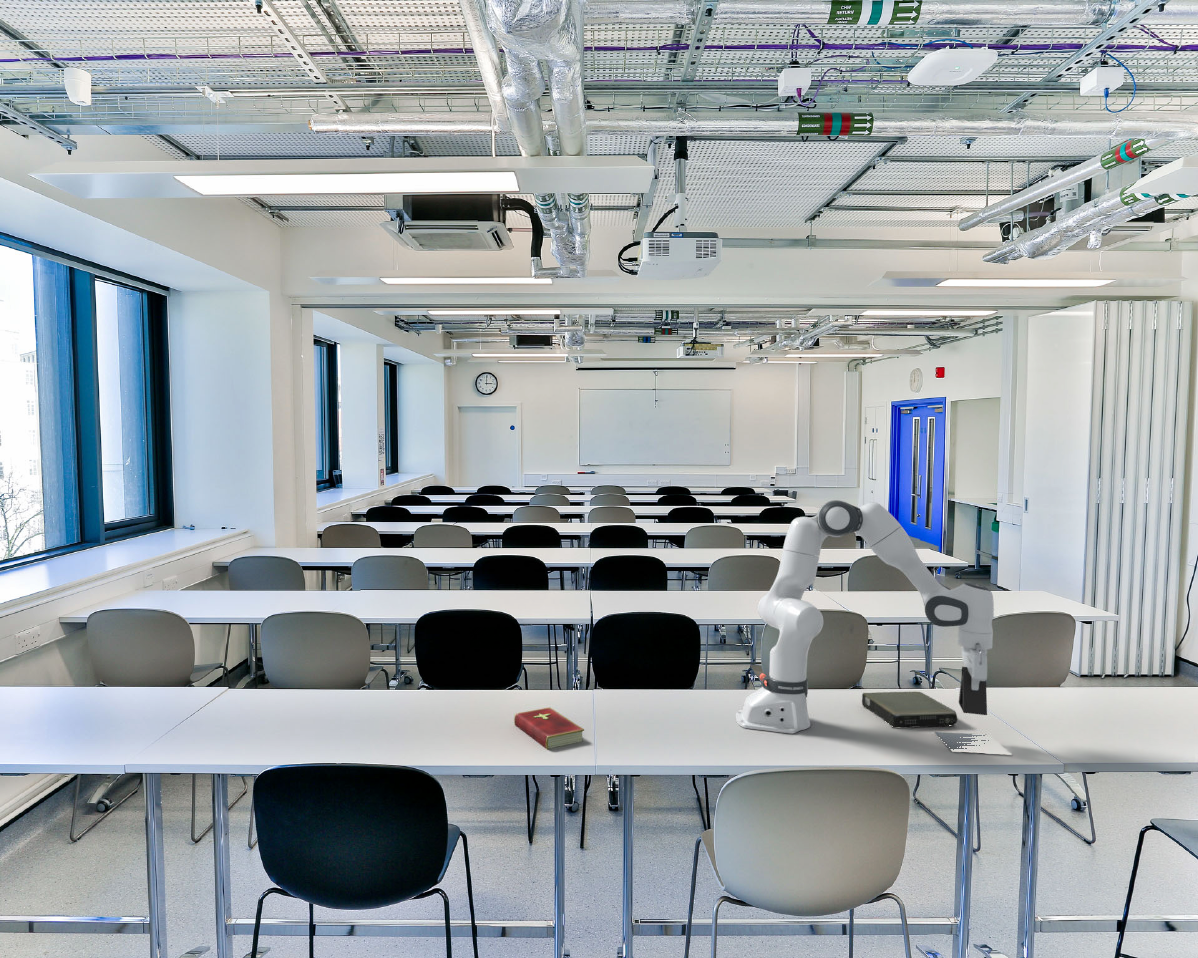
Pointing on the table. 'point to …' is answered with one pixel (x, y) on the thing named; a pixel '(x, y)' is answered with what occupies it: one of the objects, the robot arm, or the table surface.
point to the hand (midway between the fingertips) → (973, 687)
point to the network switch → (909, 709)
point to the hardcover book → (548, 727)
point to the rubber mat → (956, 739)
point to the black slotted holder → (972, 695)
